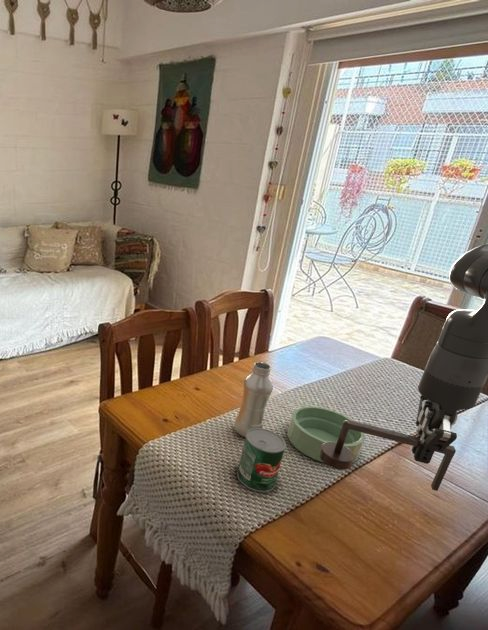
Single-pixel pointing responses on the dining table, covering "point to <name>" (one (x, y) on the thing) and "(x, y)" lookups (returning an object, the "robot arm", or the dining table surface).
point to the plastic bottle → (254, 399)
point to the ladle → (344, 457)
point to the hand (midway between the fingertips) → (419, 457)
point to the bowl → (320, 431)
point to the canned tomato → (261, 459)
